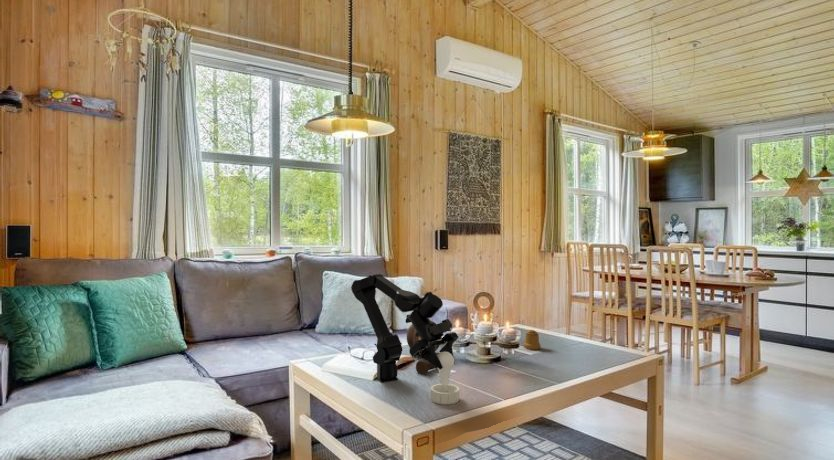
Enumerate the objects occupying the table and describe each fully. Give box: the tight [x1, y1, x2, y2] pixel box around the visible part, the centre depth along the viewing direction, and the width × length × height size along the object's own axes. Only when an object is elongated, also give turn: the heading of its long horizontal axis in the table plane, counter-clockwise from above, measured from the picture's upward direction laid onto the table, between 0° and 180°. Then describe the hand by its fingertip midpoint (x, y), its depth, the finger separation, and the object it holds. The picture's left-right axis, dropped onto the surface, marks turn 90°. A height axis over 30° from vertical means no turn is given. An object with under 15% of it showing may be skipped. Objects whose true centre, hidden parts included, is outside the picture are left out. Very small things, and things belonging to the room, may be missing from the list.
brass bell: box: [523, 329, 541, 351], centre depth 218 cm, size 8×8×8 cm
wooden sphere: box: [406, 319, 443, 356], centre depth 206 cm, size 15×15×15 cm
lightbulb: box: [436, 352, 455, 386], centre depth 155 cm, size 6×6×11 cm
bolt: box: [415, 359, 438, 376], centre depth 186 cm, size 6×5×15 cm
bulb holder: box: [430, 383, 460, 406], centre depth 155 cm, size 9×9×4 cm
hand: (447, 366), depth 154 cm, fingers closed on lightbulb, 6 cm apart
